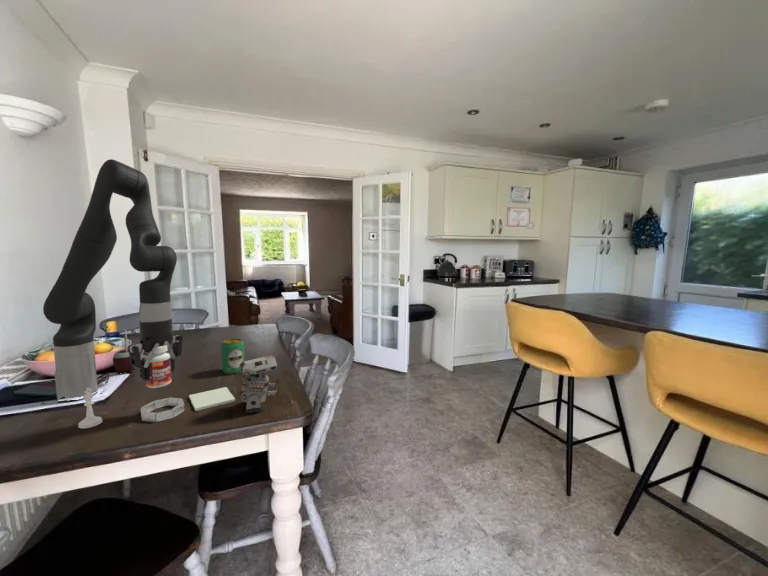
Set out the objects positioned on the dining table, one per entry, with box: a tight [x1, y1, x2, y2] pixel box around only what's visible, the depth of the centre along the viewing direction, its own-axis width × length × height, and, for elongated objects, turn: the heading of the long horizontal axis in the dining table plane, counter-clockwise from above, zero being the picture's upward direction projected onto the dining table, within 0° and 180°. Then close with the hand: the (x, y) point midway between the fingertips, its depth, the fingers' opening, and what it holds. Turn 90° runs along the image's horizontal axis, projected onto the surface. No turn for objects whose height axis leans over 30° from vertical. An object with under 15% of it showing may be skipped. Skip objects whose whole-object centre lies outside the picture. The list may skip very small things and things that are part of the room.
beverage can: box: [220, 337, 246, 375], centre depth 129 cm, size 8×8×12 cm
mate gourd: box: [112, 329, 136, 375], centre depth 126 cm, size 8×8×15 cm
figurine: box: [239, 354, 281, 414], centre depth 101 cm, size 9×12×15 cm
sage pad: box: [188, 386, 236, 412], centre depth 105 cm, size 11×11×1 cm
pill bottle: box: [144, 345, 173, 389], centre depth 94 cm, size 6×6×11 cm
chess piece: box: [77, 388, 103, 429], centre depth 89 cm, size 5×5×10 cm
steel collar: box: [140, 397, 185, 423], centre depth 96 cm, size 10×10×2 cm
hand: (158, 375), depth 95 cm, fingers closed on pill bottle, 6 cm apart
